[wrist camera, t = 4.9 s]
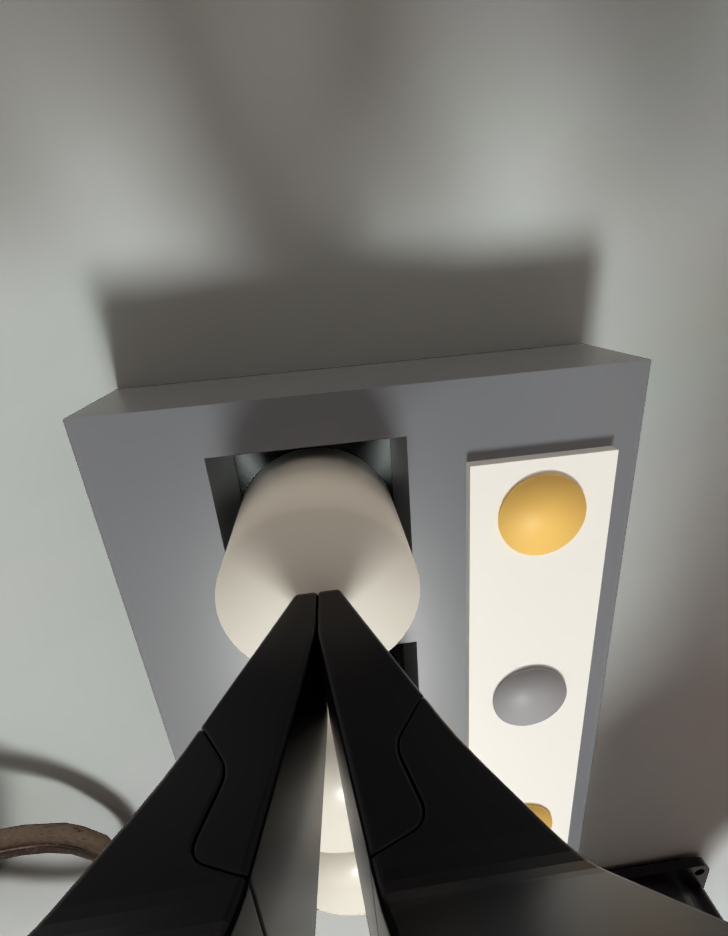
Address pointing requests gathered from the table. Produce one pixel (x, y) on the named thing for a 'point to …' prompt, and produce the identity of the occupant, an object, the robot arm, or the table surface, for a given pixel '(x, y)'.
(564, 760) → the pattern card
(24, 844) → the brown mug
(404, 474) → the button panel
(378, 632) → the button
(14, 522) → the table surface
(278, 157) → the table surface
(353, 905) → the button
